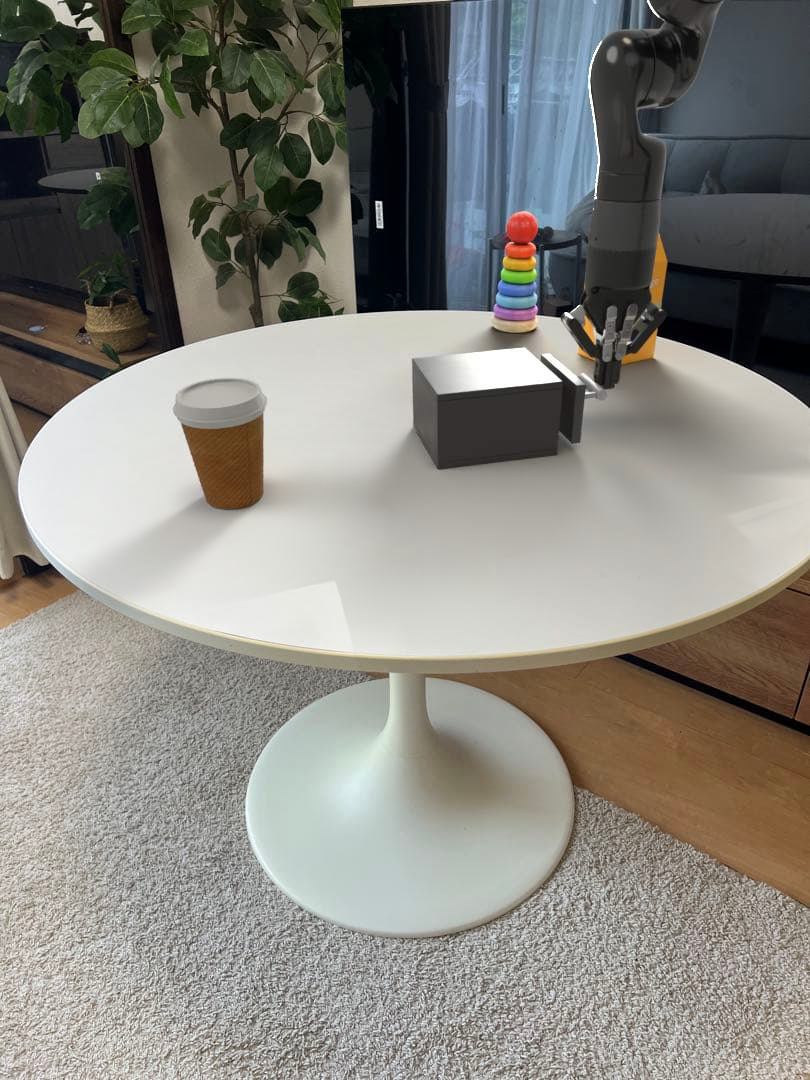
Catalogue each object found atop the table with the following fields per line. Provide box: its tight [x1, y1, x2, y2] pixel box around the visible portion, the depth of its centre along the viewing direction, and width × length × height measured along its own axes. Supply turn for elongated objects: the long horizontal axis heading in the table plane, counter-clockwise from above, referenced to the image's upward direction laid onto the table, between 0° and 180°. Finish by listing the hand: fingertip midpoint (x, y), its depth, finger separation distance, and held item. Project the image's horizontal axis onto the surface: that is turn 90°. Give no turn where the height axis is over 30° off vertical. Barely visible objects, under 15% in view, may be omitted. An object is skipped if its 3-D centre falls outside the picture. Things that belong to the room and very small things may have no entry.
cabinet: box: [411, 347, 563, 470], centre depth 95 cm, size 15×13×9 cm
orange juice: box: [577, 233, 668, 365], centre depth 118 cm, size 8×9×20 cm
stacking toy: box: [491, 211, 539, 334], centre depth 132 cm, size 8×8×19 cm
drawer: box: [540, 353, 609, 444], centre depth 96 cm, size 18×11×7 cm, turn 102°
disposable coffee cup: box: [172, 377, 268, 510], centre depth 83 cm, size 10×10×12 cm
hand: (605, 387), depth 97 cm, fingers closed
